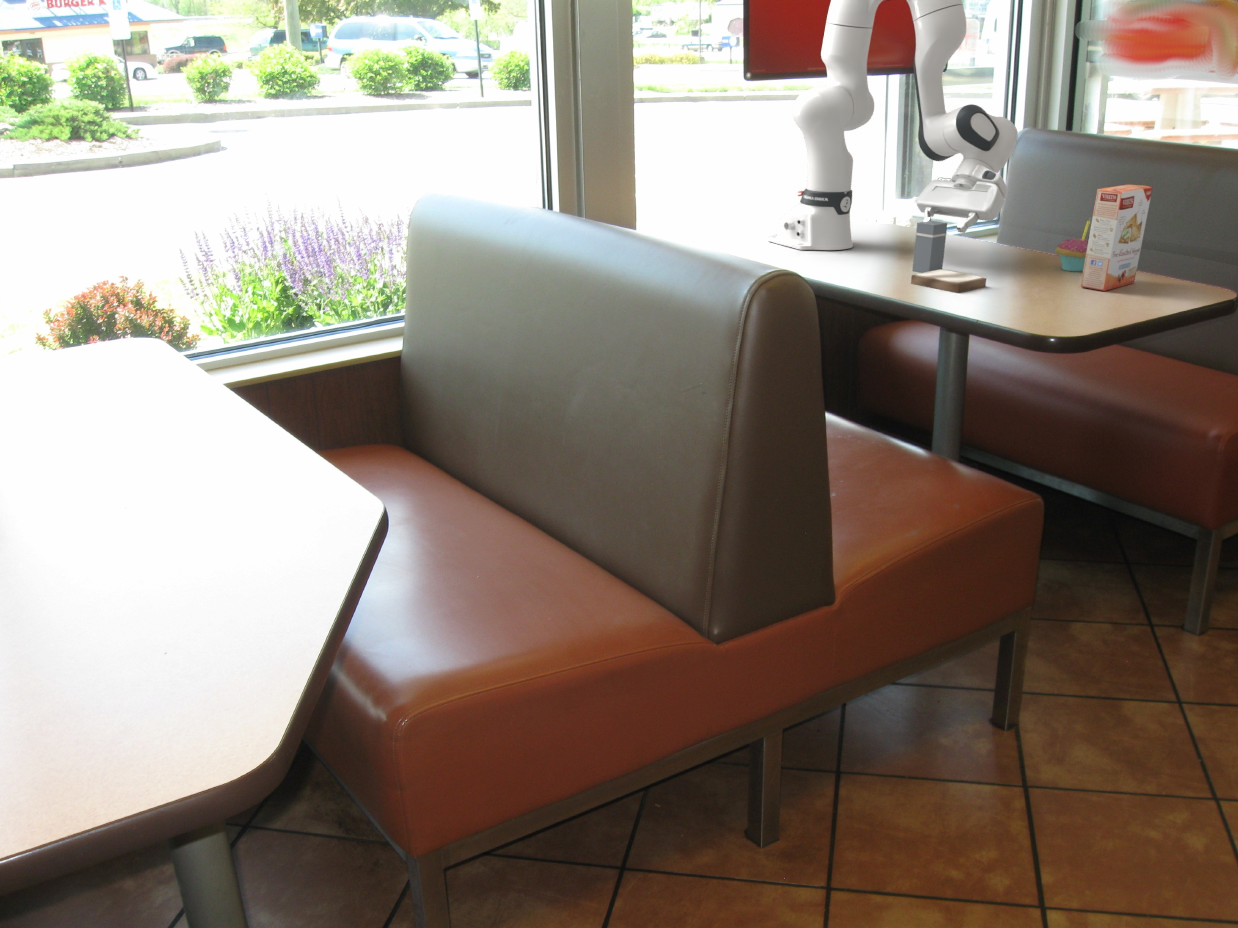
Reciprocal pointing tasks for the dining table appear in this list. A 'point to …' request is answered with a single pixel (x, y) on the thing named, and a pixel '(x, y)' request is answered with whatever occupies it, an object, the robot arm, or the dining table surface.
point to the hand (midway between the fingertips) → (942, 228)
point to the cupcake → (1073, 252)
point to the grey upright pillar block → (929, 246)
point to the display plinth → (948, 280)
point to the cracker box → (1116, 236)
